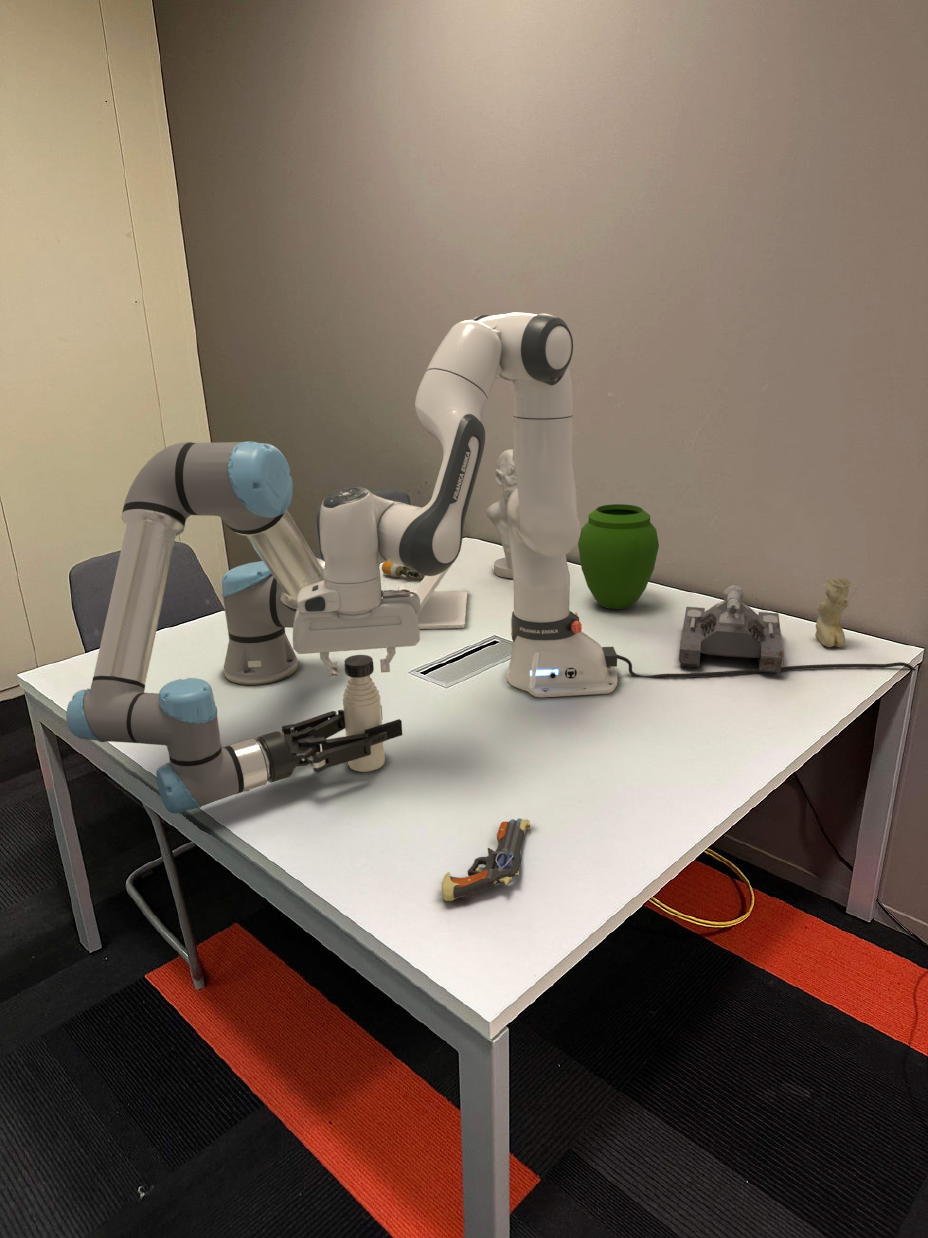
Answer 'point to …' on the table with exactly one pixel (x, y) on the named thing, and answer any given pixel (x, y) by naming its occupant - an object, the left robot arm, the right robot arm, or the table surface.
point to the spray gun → (398, 570)
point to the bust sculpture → (503, 510)
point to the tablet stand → (439, 605)
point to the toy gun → (491, 863)
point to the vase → (618, 554)
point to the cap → (359, 666)
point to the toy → (732, 633)
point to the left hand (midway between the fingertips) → (390, 719)
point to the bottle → (363, 719)
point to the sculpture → (832, 613)
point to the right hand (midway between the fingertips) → (359, 673)
